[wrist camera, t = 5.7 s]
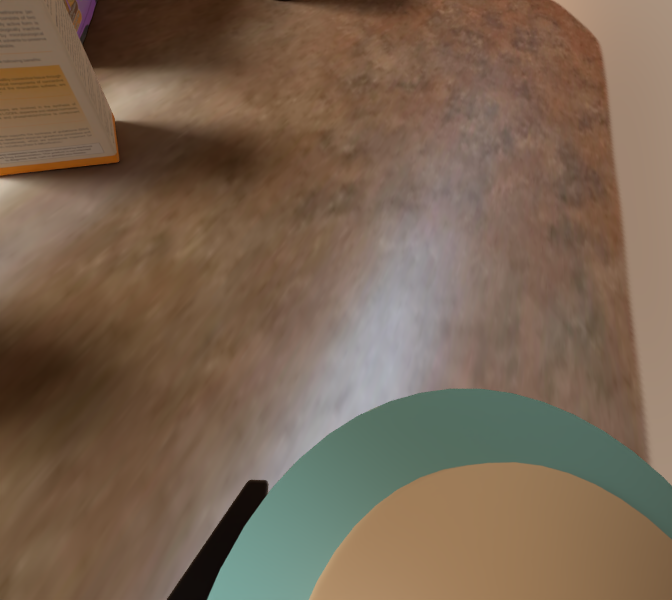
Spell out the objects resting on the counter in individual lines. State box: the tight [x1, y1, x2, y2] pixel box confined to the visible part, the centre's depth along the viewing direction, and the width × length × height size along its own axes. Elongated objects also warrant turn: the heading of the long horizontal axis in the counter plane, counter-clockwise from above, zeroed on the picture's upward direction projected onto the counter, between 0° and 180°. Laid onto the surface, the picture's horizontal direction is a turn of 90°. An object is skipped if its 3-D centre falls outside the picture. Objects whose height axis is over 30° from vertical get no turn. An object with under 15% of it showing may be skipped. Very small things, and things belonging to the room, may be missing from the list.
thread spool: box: [207, 389, 672, 600], centre depth 8 cm, size 5×5×13 cm
